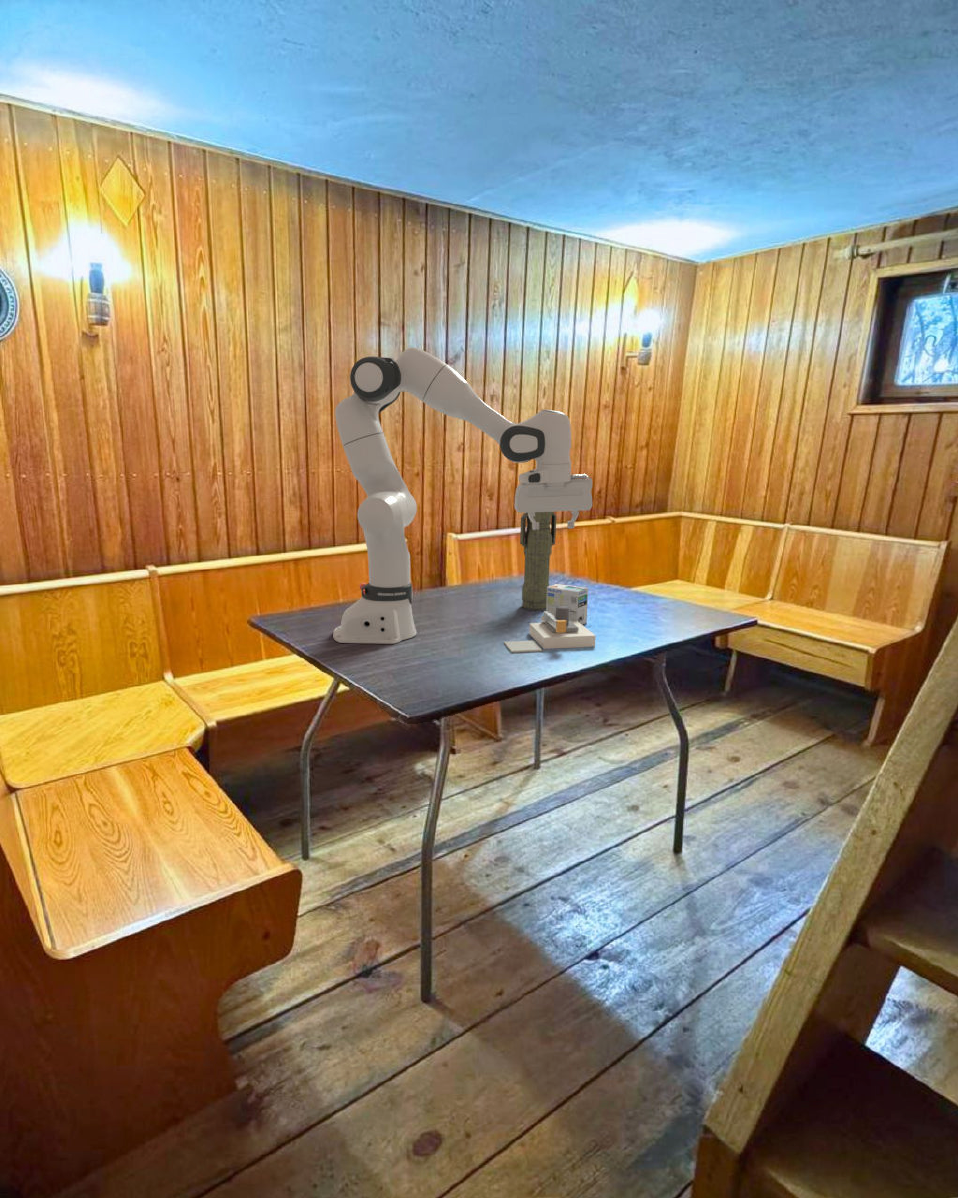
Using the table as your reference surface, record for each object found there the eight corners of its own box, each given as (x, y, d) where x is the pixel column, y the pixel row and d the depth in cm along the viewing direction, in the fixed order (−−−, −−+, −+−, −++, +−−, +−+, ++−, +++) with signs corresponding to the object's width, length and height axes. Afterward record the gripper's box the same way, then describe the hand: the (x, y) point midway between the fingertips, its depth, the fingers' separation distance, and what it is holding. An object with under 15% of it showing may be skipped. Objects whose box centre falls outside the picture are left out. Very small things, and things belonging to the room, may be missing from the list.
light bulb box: (587, 623, 202) (589, 587, 199) (577, 628, 196) (579, 591, 194) (555, 617, 207) (556, 582, 205) (544, 622, 202) (546, 586, 199)
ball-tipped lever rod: (539, 621, 190) (540, 606, 189) (548, 621, 190) (548, 606, 189) (556, 637, 175) (557, 621, 174) (565, 637, 175) (566, 621, 174)
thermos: (512, 606, 220) (515, 496, 212) (542, 602, 226) (546, 495, 218) (528, 612, 212) (531, 499, 204) (558, 608, 218) (563, 498, 210)
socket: (543, 648, 176) (544, 637, 176) (529, 633, 190) (529, 623, 189) (594, 646, 179) (595, 635, 178) (577, 631, 192) (577, 621, 192)
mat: (511, 652, 173) (511, 651, 172) (504, 643, 180) (504, 641, 180) (542, 651, 174) (542, 649, 174) (533, 642, 182) (533, 640, 182)
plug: (552, 644, 180) (553, 611, 178) (544, 636, 187) (546, 605, 185) (577, 643, 182) (579, 610, 180) (569, 635, 188) (570, 604, 186)
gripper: (588, 473, 180) (587, 525, 183) (512, 475, 177) (513, 528, 180) (596, 474, 174) (595, 528, 177) (518, 476, 171) (518, 531, 174)
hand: (553, 528), depth 179 cm, fingers open, 8 cm apart
